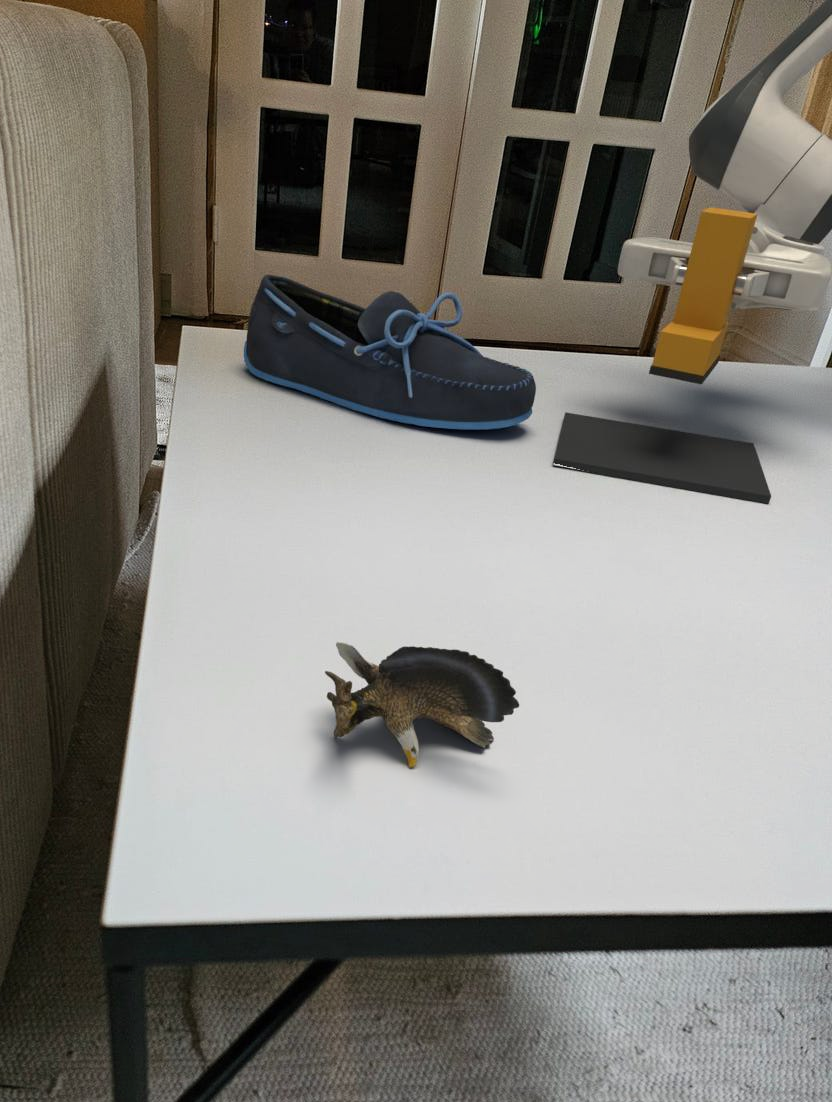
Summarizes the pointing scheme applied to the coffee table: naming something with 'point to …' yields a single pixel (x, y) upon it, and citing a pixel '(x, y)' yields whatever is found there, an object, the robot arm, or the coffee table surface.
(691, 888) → the coffee table surface
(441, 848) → the coffee table surface
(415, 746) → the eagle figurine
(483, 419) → the moccasin
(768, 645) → the coffee table surface
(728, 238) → the boot
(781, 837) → the coffee table surface
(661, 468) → the shoe mat
